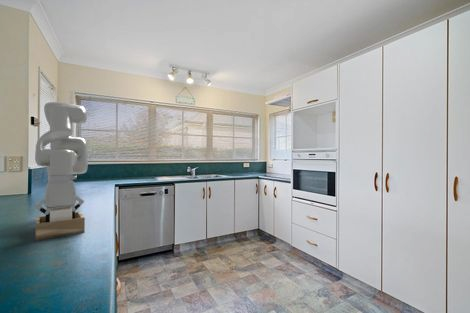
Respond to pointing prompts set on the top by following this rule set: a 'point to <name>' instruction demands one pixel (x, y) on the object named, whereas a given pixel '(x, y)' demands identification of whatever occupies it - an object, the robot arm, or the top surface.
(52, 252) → the top surface
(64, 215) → the cream crate
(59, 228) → the pine crate
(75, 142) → the robot arm
